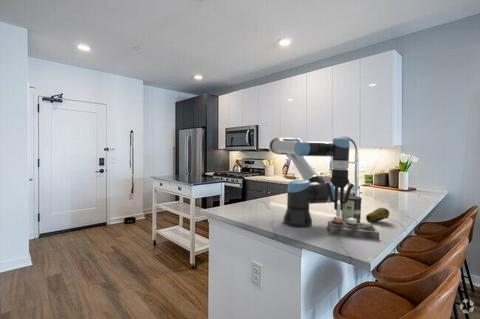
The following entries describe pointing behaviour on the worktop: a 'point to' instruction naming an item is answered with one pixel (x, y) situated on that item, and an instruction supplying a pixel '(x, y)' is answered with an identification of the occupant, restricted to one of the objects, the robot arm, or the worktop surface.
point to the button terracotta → (337, 219)
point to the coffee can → (351, 209)
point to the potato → (377, 215)
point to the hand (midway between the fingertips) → (338, 216)
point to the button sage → (366, 224)
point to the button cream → (351, 220)
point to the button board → (352, 230)
